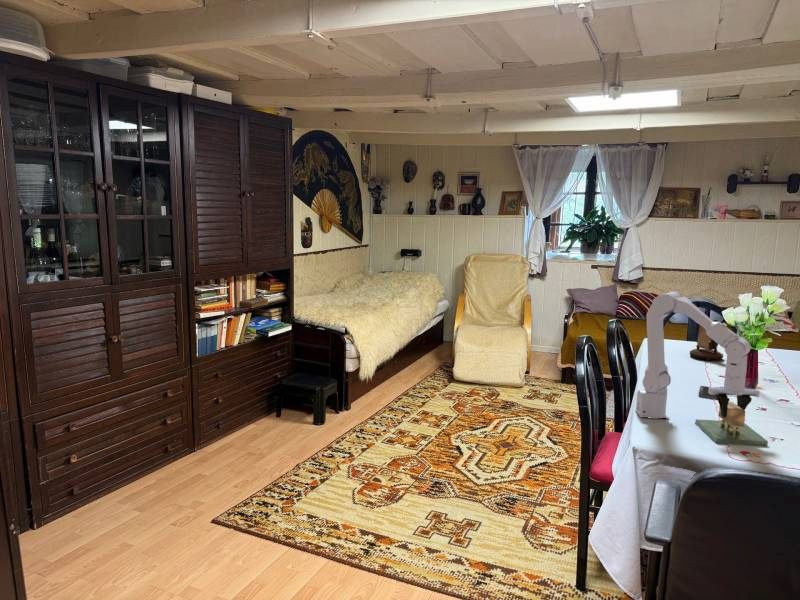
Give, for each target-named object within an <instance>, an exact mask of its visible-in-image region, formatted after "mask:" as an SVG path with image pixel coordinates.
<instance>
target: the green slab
mask: <svg viewBox="0 0 800 600" xmlns="http://www.w3.org/2000/svg"><path fill="white" fill-rule="evenodd" d="M694 422H695V423H696V424H697V425H698V426H699V427H700V428H701V429H702V432H703V433H704V434H706V436H708V437H709V438H710V440H712V441H713V442H714V444H724V445H725V444H726V445H727V444H728V445H744V446H746V445H747V446H759V447H768V446H769V445H768V443H769V441H768V440H767V439H766V438H764V437H763V436H762V435H760V434H759V433H758V432H757V431H756V430H754V429H753V428H752V427H750V426H749V425H748V424H746V423H745V422H744V426H730V425H729V424H728V423H726V422H725V421H724V420H723V419H721V420H715V419H712V420H710V419H698V418H697V419H695V421H694ZM696 424H695V425H696ZM698 426H697V427H698ZM699 427H698V428H699ZM700 428H699V429H700ZM701 429H700V430H701Z"/></svg>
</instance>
